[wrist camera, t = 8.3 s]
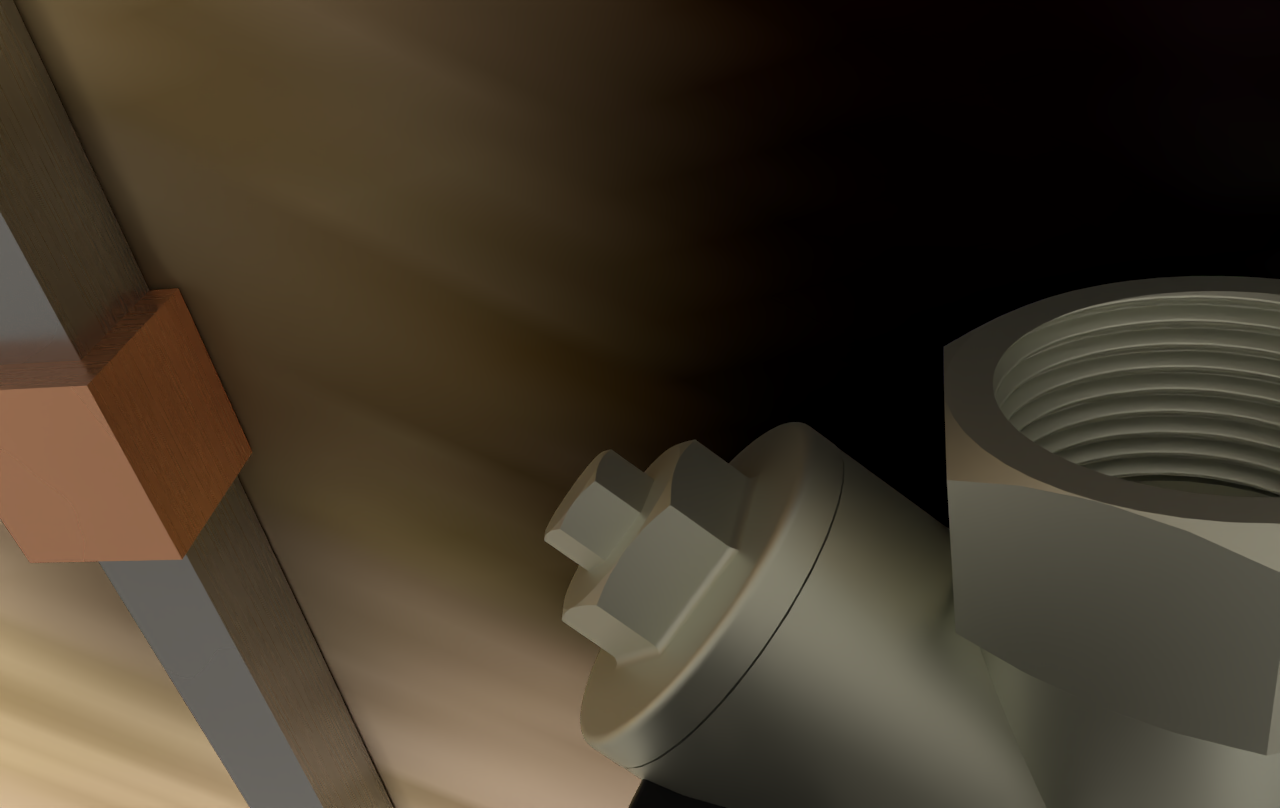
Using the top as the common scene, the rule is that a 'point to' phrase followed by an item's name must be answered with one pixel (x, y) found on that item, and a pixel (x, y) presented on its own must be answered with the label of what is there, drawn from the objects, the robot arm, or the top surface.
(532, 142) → the top surface
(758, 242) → the top surface
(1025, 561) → the pipe fitting
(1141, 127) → the top surface
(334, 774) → the grey metal bars
